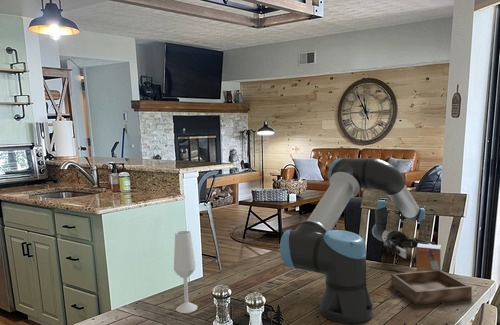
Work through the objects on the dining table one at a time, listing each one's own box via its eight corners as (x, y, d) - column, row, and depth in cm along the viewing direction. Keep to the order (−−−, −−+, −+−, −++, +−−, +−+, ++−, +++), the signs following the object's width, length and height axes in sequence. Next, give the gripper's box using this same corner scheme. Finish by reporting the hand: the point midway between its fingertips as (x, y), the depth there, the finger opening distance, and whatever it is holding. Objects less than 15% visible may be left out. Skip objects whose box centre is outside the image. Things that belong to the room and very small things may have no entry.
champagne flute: (182, 302, 128) (178, 229, 127) (201, 304, 126) (197, 230, 125) (172, 311, 122) (167, 235, 120) (191, 314, 120) (187, 235, 118)
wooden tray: (416, 305, 120) (416, 292, 120) (391, 285, 136) (391, 273, 135) (471, 299, 122) (471, 286, 122) (440, 280, 138) (440, 269, 138)
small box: (416, 275, 144) (415, 246, 143) (417, 270, 149) (417, 242, 148) (440, 278, 140) (440, 248, 140) (441, 273, 145) (441, 244, 145)
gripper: (422, 245, 172) (453, 260, 151) (367, 249, 169) (391, 265, 148) (421, 228, 172) (453, 240, 151) (366, 232, 169) (390, 245, 148)
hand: (422, 253), depth 150 cm, fingers open, 13 cm apart
